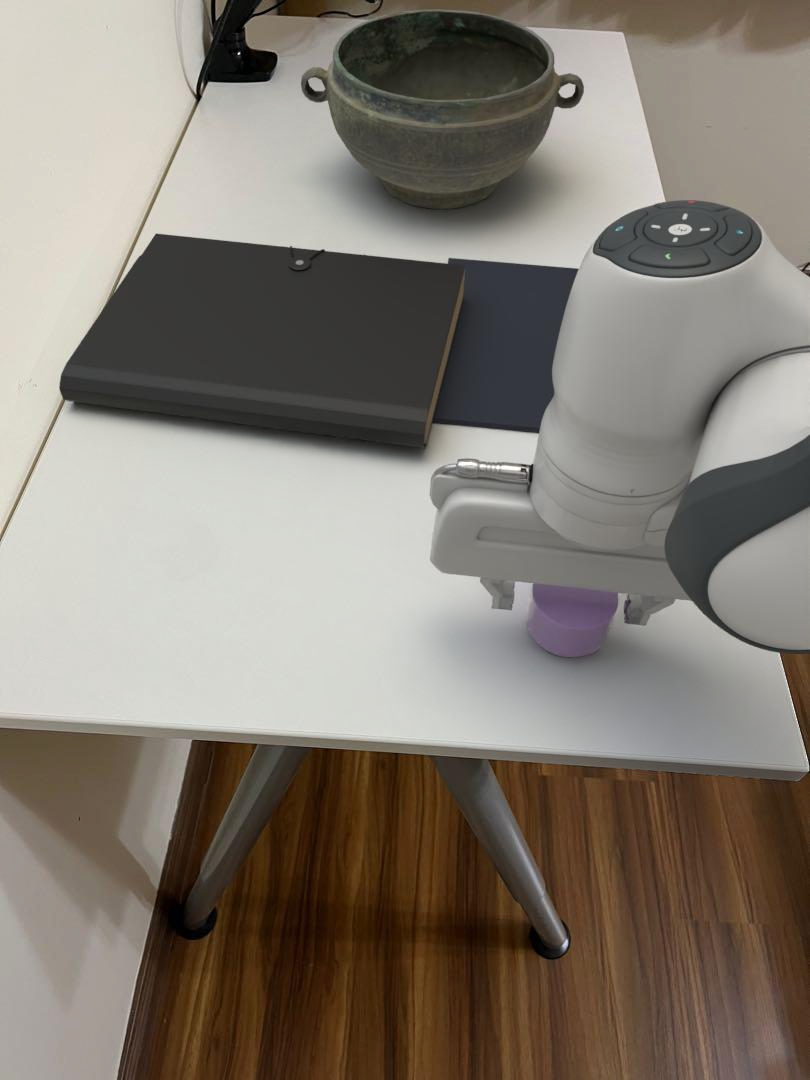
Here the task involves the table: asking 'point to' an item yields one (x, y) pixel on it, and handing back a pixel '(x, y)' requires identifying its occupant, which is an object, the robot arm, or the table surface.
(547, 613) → the lavender round puck
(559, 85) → the bowl
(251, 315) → the file folder
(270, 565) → the table surface
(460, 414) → the mat
